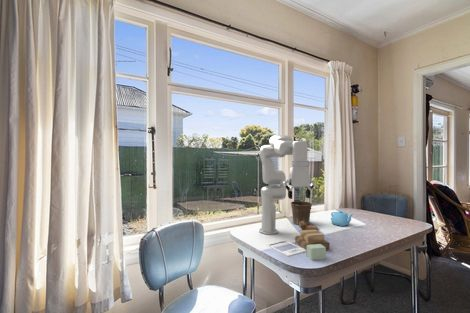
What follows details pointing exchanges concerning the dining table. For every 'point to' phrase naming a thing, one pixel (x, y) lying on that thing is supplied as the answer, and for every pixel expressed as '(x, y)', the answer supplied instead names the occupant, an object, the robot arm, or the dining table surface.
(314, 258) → the sage brick
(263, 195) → the robot arm
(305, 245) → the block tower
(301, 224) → the lion figurine
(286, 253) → the photo frame
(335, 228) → the dining table surface
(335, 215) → the teapot
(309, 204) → the plant pot
